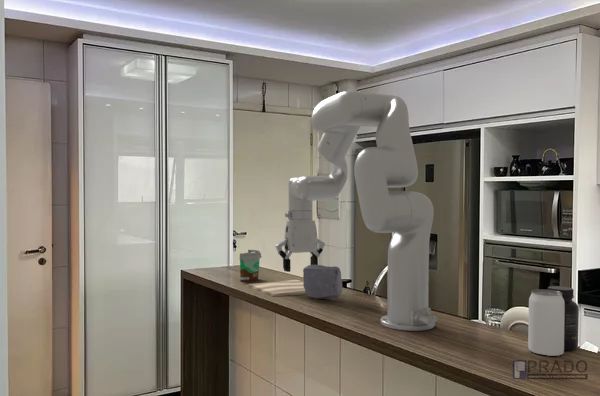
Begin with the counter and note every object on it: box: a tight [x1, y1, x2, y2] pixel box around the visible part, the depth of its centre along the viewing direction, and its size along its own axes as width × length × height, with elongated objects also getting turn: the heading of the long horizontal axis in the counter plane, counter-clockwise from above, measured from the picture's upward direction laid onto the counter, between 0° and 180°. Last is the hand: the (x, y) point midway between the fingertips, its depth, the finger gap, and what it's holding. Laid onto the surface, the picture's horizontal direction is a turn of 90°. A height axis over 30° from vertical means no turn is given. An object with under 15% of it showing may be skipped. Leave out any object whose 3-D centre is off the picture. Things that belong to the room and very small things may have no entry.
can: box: [527, 289, 565, 357], centre depth 106 cm, size 6×6×12 cm
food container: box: [239, 249, 262, 282], centre depth 187 cm, size 12×6×10 cm, turn 171°
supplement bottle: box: [547, 285, 580, 351], centre depth 110 cm, size 7×7×12 cm
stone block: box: [302, 264, 343, 300], centre depth 154 cm, size 12×5×10 cm, turn 54°
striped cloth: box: [248, 279, 307, 298], centre depth 169 cm, size 18×18×1 cm
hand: (300, 270), depth 169 cm, fingers open, 9 cm apart
